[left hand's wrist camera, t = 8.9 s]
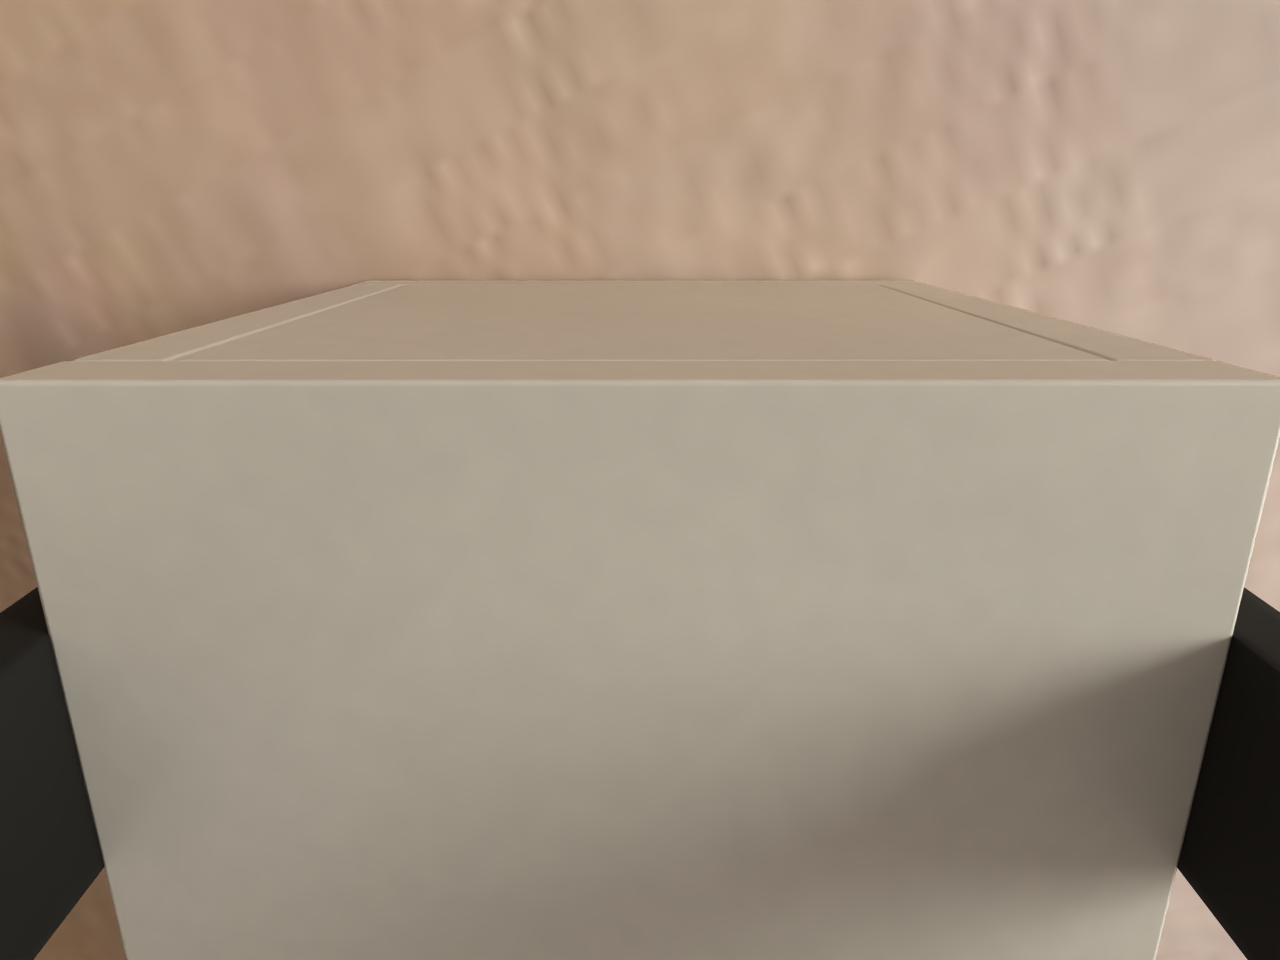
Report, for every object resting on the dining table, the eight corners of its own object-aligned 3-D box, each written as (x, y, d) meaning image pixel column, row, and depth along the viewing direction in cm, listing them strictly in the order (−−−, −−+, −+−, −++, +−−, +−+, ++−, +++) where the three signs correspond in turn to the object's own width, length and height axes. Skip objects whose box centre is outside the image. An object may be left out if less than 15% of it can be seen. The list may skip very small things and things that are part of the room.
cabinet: (846, 980, 23) (1008, 1584, 13) (434, 980, 23) (273, 1584, 13) (914, 279, 17) (1297, 380, 7) (366, 280, 17) (-15, 380, 7)
